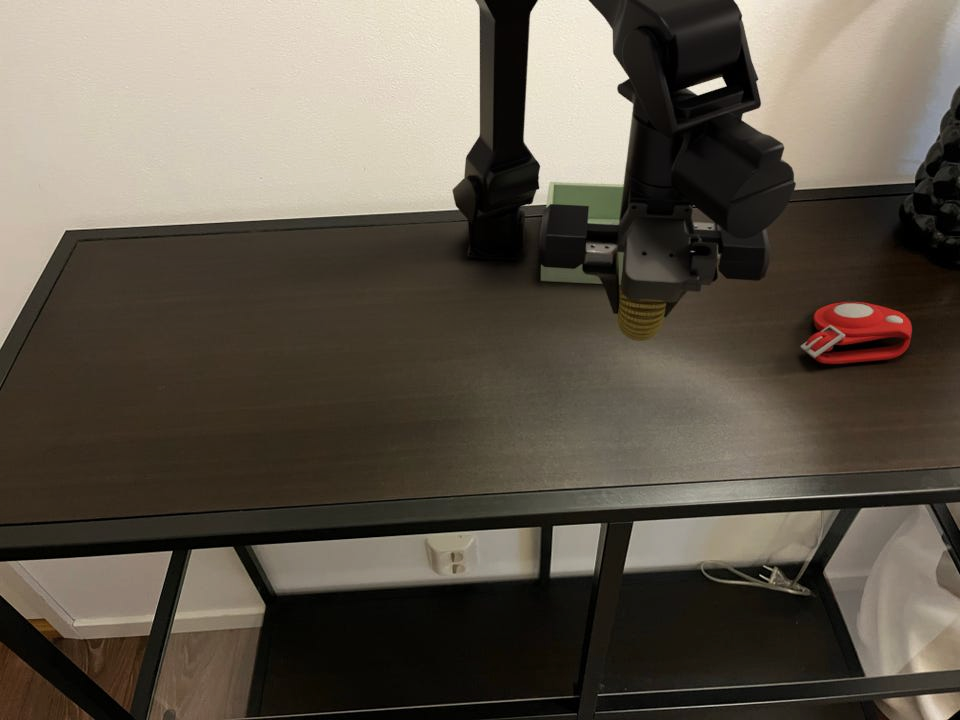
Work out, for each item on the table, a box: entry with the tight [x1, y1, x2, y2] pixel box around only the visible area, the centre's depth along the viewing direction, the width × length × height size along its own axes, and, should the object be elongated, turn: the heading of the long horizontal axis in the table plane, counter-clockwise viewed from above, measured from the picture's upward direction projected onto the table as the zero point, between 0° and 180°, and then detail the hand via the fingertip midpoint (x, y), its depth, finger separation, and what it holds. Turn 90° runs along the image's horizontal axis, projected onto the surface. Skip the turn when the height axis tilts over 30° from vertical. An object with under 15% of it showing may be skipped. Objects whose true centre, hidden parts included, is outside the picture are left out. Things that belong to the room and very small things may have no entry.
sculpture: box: [616, 277, 666, 342], centre depth 68 cm, size 8×4×8 cm, turn 170°
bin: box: [540, 181, 624, 286], centre depth 93 cm, size 13×13×6 cm
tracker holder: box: [800, 301, 913, 365], centre depth 80 cm, size 12×4×10 cm
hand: (639, 312), depth 69 cm, fingers closed on sculpture, 4 cm apart
